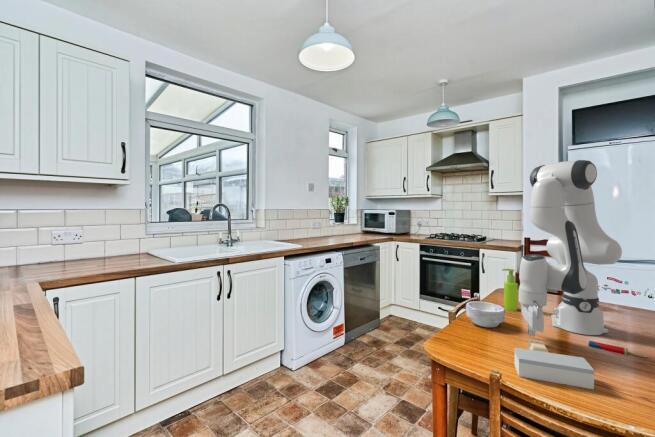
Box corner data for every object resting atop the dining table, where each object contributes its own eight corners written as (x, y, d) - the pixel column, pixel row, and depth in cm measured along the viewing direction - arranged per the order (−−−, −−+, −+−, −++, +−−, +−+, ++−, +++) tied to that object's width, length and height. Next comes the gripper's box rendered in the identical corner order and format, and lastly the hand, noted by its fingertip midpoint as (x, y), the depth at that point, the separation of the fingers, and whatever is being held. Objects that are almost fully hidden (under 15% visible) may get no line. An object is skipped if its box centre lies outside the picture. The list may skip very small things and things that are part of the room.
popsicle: (647, 356, 105) (588, 344, 115) (647, 361, 105) (588, 348, 115) (646, 352, 108) (589, 340, 118) (646, 356, 108) (589, 344, 118)
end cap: (514, 364, 102) (514, 347, 102) (583, 375, 95) (583, 357, 95) (518, 376, 94) (519, 358, 94) (593, 389, 87) (594, 370, 87)
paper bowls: (513, 327, 133) (513, 309, 133) (484, 332, 129) (484, 312, 128) (485, 316, 148) (485, 299, 148) (458, 319, 143) (458, 302, 143)
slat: (528, 347, 115) (528, 339, 115) (541, 349, 113) (542, 341, 113) (539, 368, 100) (539, 358, 100) (554, 370, 99) (554, 361, 99)
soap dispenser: (502, 306, 164) (502, 267, 163) (517, 308, 159) (518, 269, 159) (500, 308, 159) (501, 269, 158) (516, 311, 155) (517, 270, 154)
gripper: (549, 307, 107) (548, 347, 107) (536, 293, 126) (535, 327, 126) (527, 304, 109) (526, 344, 110) (518, 291, 128) (517, 325, 129)
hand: (531, 335), depth 118 cm, fingers closed
